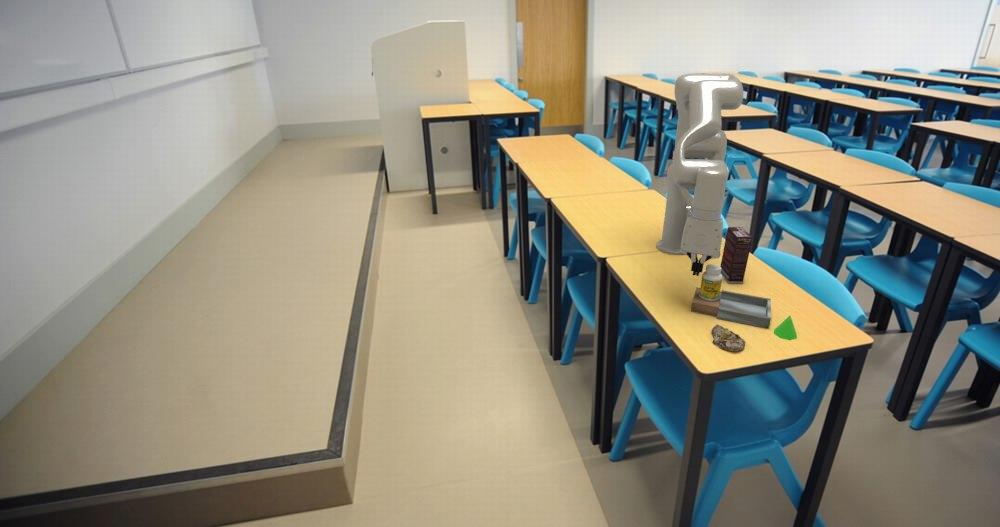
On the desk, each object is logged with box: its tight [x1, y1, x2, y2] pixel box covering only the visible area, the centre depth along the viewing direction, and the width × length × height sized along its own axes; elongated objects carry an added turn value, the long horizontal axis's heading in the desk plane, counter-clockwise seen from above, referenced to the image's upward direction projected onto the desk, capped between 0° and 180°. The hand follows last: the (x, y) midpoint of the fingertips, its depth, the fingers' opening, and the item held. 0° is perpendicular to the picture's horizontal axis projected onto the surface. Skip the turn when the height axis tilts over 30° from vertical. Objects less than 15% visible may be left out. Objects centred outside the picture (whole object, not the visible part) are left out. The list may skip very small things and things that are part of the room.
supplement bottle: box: [699, 263, 724, 301], centre depth 148 cm, size 5×5×10 cm
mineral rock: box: [711, 324, 747, 352], centre depth 135 cm, size 11×4×8 cm
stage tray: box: [690, 286, 772, 329], centre depth 148 cm, size 12×20×3 cm, turn 65°
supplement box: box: [719, 226, 753, 285], centre depth 164 cm, size 9×5×16 cm, turn 178°
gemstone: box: [773, 315, 798, 341], centre depth 136 cm, size 6×6×6 cm
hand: (696, 273), depth 149 cm, fingers closed
